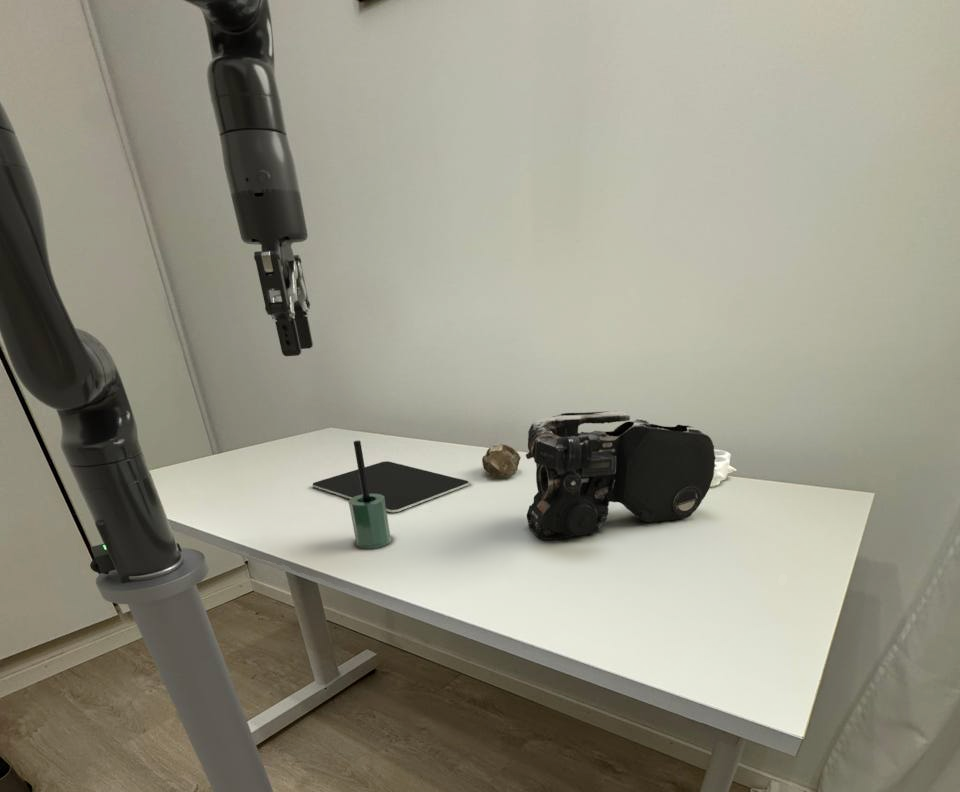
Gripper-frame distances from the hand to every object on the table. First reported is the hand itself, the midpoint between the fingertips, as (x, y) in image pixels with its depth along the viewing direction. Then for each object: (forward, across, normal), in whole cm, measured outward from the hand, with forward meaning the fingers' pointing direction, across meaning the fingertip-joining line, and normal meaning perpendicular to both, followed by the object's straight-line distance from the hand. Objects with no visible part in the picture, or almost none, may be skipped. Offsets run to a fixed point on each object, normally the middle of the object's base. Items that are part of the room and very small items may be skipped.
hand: (299, 351), depth 71 cm
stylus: (+27, -2, +5) cm, 28 cm away
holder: (+28, -2, +5) cm, 28 cm away
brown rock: (+28, -34, +29) cm, 53 cm away
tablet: (+28, -31, +6) cm, 42 cm away
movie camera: (+28, -1, +42) cm, 51 cm away
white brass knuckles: (+28, -22, +65) cm, 74 cm away
